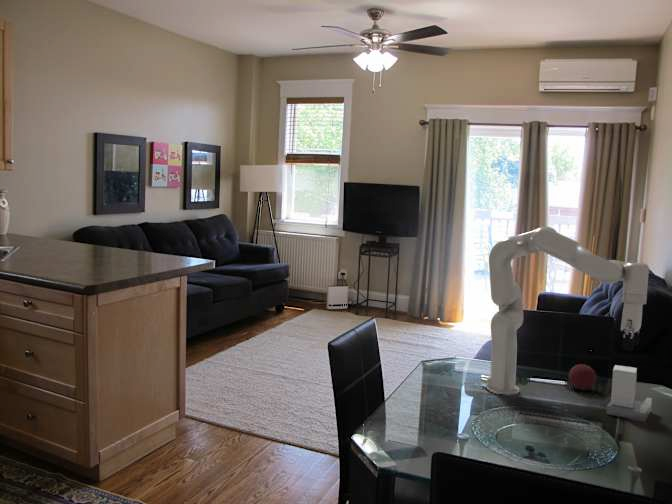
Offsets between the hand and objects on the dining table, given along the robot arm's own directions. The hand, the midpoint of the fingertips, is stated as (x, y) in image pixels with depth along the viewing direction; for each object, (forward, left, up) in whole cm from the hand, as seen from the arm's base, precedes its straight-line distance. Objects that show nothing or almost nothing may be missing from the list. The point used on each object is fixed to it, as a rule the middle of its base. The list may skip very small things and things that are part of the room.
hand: (630, 346), depth 206 cm
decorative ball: (-19, +16, -24) cm, 35 cm away
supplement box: (-1, 0, -21) cm, 21 cm away
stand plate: (+1, 0, -24) cm, 24 cm away
